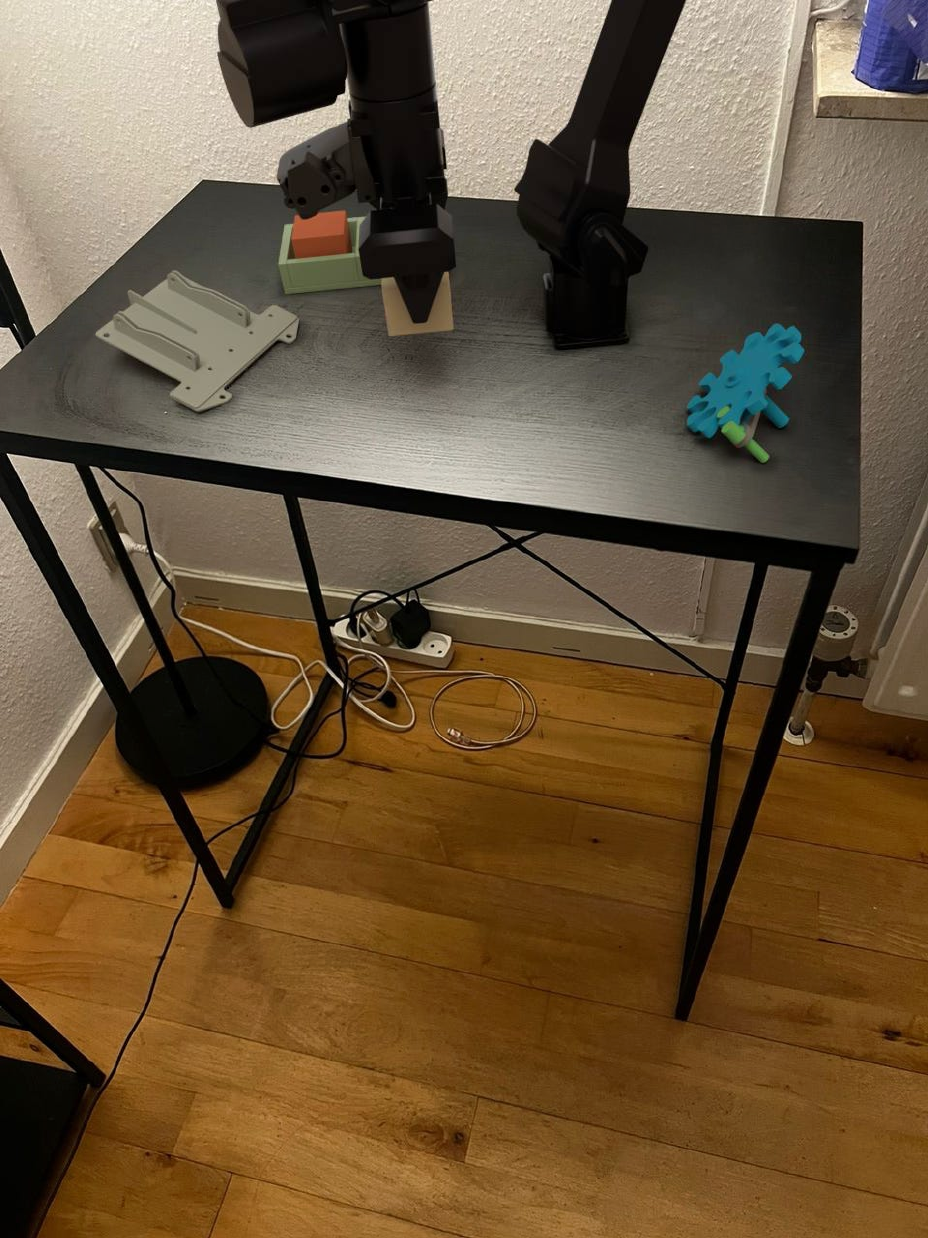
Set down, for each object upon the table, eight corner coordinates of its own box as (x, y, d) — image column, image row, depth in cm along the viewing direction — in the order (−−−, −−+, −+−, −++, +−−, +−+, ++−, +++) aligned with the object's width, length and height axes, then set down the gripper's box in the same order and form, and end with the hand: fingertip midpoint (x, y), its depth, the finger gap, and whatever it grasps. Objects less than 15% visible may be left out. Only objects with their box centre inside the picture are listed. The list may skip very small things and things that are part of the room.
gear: (698, 356, 75) (804, 294, 67) (745, 404, 78) (852, 349, 70) (662, 455, 70) (773, 399, 62) (713, 503, 72) (826, 455, 64)
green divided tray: (441, 238, 96) (437, 208, 93) (443, 278, 90) (440, 247, 88) (291, 253, 96) (284, 224, 94) (285, 294, 91) (278, 264, 88)
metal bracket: (66, 324, 78) (179, 241, 87) (77, 377, 83) (184, 293, 92) (208, 401, 77) (311, 308, 85) (212, 450, 81) (308, 358, 90)
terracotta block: (352, 248, 94) (345, 209, 92) (350, 273, 91) (343, 234, 88) (303, 253, 95) (294, 214, 92) (299, 278, 91) (291, 239, 88)
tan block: (451, 296, 75) (446, 248, 72) (453, 330, 72) (449, 281, 69) (388, 302, 75) (381, 255, 72) (388, 336, 72) (381, 288, 69)
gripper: (280, 49, 68) (322, 255, 79) (256, 157, 55) (309, 383, 67) (434, 33, 67) (453, 242, 79) (444, 138, 55) (465, 368, 67)
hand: (419, 303), depth 73 cm, fingers closed on tan block, 5 cm apart
